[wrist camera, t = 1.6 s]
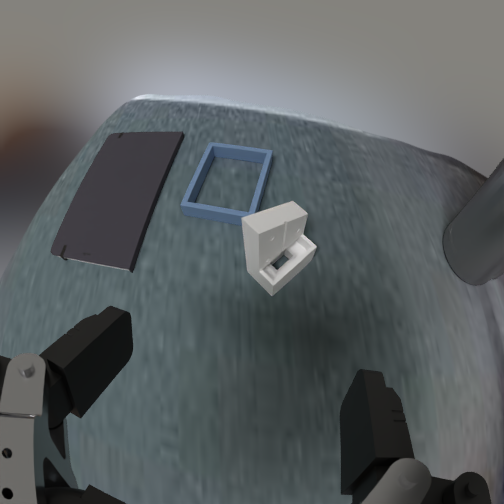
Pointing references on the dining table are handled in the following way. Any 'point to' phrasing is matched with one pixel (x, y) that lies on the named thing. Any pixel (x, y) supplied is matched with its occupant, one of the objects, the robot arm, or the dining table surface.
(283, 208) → the white angled block
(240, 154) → the blue rectangular frame
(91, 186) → the notebook
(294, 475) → the dining table surface
